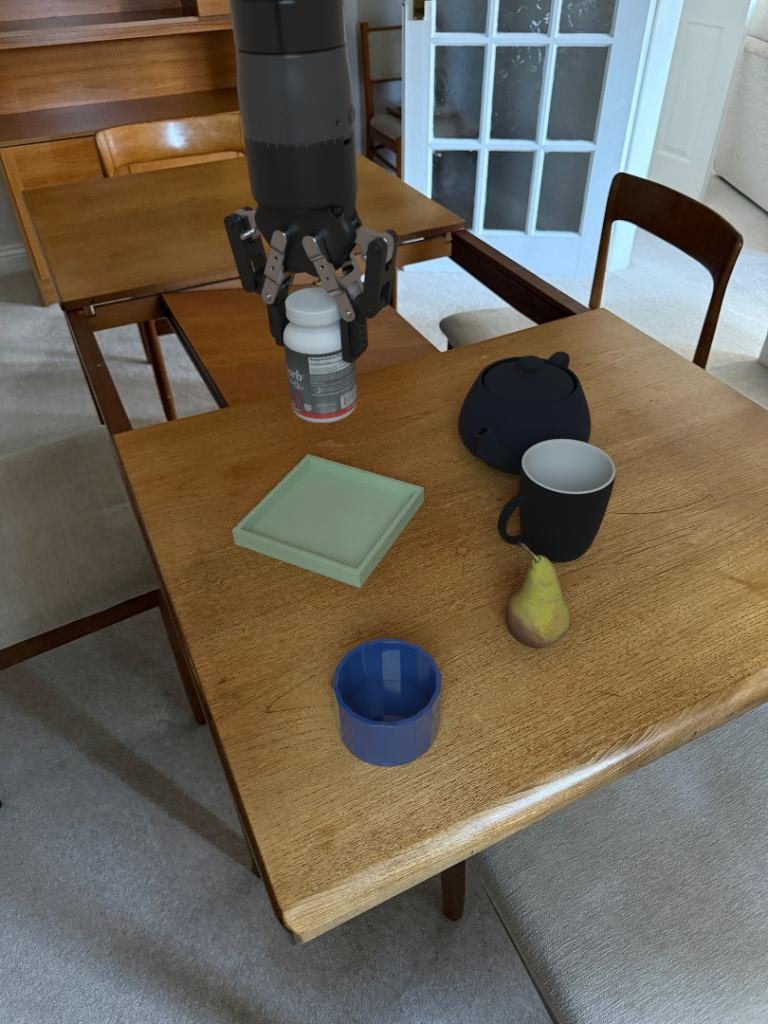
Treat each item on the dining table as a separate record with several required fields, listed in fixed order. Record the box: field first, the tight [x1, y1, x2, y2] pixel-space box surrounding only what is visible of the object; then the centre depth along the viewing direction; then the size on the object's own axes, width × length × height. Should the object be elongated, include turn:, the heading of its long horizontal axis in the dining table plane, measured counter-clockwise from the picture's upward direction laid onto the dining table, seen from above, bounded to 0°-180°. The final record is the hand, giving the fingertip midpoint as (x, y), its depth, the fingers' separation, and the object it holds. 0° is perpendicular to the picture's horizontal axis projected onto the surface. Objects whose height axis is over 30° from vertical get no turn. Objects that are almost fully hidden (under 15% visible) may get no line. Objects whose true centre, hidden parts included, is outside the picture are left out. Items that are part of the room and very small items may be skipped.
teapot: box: [457, 350, 592, 476], centre depth 86 cm, size 25×16×12 cm, turn 148°
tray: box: [231, 453, 425, 589], centre depth 80 cm, size 15×15×2 cm
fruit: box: [505, 542, 572, 650], centre depth 64 cm, size 6×6×12 cm
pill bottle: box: [283, 286, 358, 424], centre depth 61 cm, size 6×6×10 cm
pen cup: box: [332, 637, 442, 768], centre depth 60 cm, size 8×8×6 cm
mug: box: [496, 439, 617, 563], centre depth 74 cm, size 12×9×10 cm
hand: (319, 349), depth 61 cm, fingers closed on pill bottle, 5 cm apart
